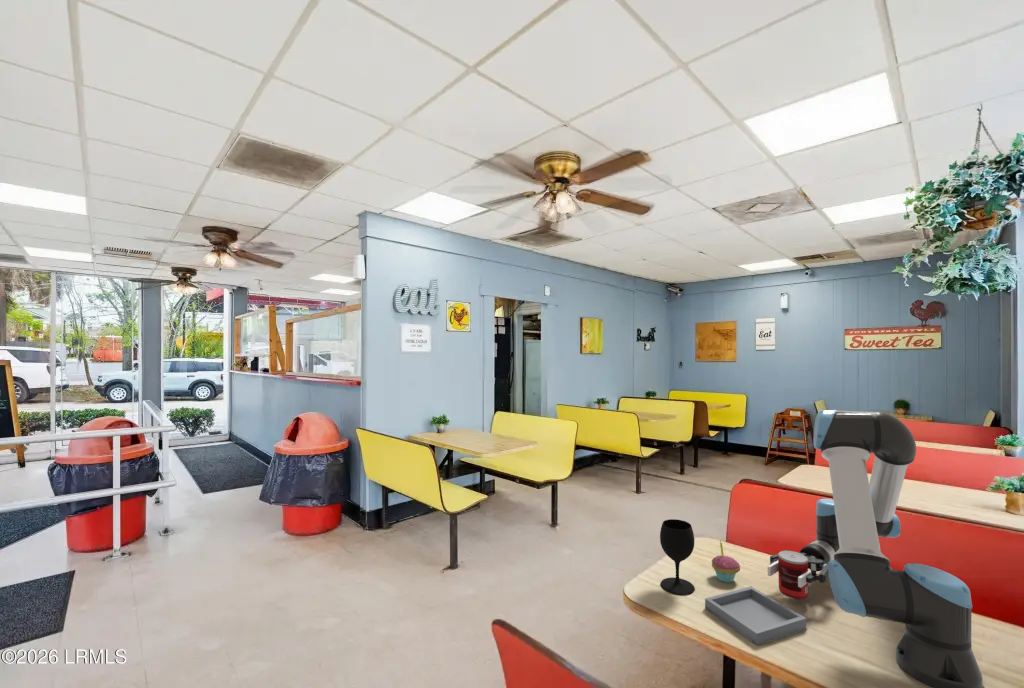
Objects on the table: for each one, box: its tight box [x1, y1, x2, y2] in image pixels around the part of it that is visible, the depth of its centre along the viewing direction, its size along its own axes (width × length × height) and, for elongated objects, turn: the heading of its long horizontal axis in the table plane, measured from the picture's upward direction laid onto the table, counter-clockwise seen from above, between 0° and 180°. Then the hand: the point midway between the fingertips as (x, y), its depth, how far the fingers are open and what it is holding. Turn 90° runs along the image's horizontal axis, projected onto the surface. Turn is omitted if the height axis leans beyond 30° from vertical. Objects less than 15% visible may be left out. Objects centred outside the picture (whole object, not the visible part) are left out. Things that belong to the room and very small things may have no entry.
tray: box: [704, 586, 807, 646], centre depth 133 cm, size 18×18×3 cm
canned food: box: [777, 550, 809, 600], centre depth 142 cm, size 8×8×11 cm
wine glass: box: [659, 518, 696, 596], centre depth 151 cm, size 10×10×20 cm
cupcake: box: [711, 540, 741, 583], centre depth 155 cm, size 9×8×12 cm
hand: (783, 576), depth 138 cm, fingers closed on canned food, 8 cm apart
